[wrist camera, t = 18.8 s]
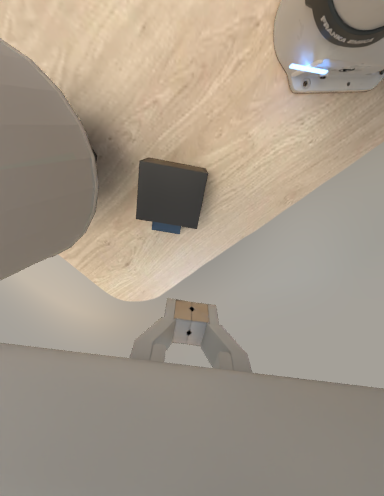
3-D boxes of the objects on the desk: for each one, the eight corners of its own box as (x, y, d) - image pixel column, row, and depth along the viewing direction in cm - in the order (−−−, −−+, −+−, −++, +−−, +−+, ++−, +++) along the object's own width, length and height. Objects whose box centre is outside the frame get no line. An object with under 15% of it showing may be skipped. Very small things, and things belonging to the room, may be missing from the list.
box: (187, 187, 48) (186, 192, 43) (180, 225, 52) (179, 234, 47) (159, 182, 48) (155, 187, 43) (155, 221, 52) (151, 229, 47)
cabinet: (205, 168, 46) (207, 173, 39) (196, 216, 51) (196, 229, 43) (148, 157, 45) (139, 160, 38) (144, 207, 50) (135, 218, 43)
